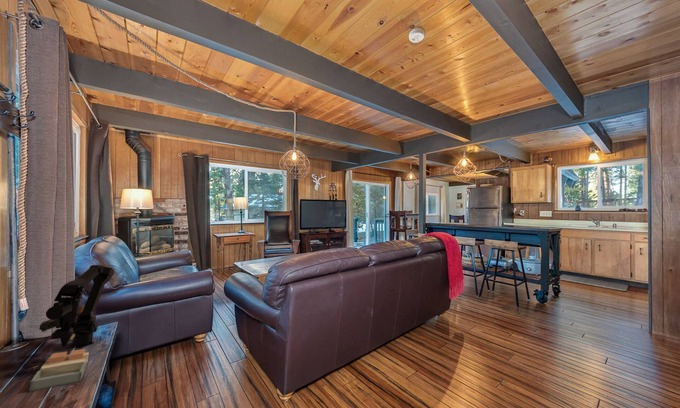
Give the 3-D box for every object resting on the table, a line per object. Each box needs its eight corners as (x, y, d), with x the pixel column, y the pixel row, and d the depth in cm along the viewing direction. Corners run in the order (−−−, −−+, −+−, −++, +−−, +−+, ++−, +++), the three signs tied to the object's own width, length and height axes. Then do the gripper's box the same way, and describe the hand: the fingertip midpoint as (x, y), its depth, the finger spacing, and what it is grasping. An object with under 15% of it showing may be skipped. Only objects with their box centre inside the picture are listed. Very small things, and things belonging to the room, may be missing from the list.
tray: (36, 380, 105) (38, 370, 105) (84, 371, 113) (85, 362, 113) (28, 391, 98) (30, 381, 99) (80, 381, 106) (81, 372, 107)
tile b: (51, 358, 113) (52, 353, 114) (66, 356, 116) (67, 351, 116) (48, 363, 110) (49, 358, 110) (63, 361, 112) (64, 356, 112)
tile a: (71, 355, 117) (71, 350, 117) (84, 353, 119) (85, 348, 120) (68, 360, 113) (69, 355, 113) (82, 358, 116) (83, 353, 116)
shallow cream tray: (46, 367, 113) (48, 358, 113) (87, 361, 120) (88, 352, 121) (38, 379, 106) (40, 368, 106) (83, 371, 113) (84, 361, 113)
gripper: (50, 306, 124) (45, 340, 123) (36, 321, 108) (29, 360, 107) (83, 304, 130) (78, 336, 129) (73, 317, 115) (67, 354, 114)
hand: (63, 346), depth 120 cm, fingers closed
